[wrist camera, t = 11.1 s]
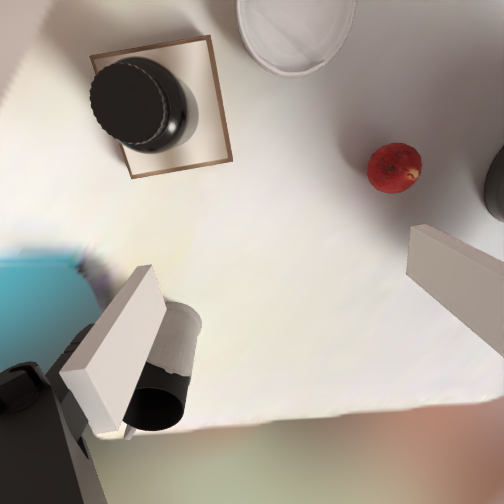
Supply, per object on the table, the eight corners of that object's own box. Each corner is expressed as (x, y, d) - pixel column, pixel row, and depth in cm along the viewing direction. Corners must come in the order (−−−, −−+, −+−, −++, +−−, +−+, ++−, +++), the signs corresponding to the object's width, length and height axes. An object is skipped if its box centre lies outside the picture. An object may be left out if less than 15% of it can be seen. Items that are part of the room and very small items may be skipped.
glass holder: (211, 315, 45) (202, 398, 31) (173, 372, 49) (151, 465, 36) (161, 293, 42) (128, 372, 29) (126, 355, 47) (83, 448, 33)
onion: (349, 178, 37) (378, 190, 30) (370, 135, 35) (406, 136, 28) (385, 192, 38) (422, 207, 31) (407, 150, 36) (452, 156, 29)
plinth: (212, 44, 30) (209, 32, 26) (232, 158, 35) (233, 161, 31) (104, 63, 30) (86, 54, 26) (140, 174, 35) (129, 180, 31)
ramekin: (237, 85, 32) (239, 77, 27) (231, -46, 27) (231, -84, 22) (332, 82, 32) (350, 74, 27) (342, -47, 28) (365, -83, 23)
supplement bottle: (127, 73, 27) (58, 36, 16) (197, 75, 27) (176, 40, 17) (138, 147, 30) (85, 158, 19) (201, 148, 30) (185, 159, 19)
